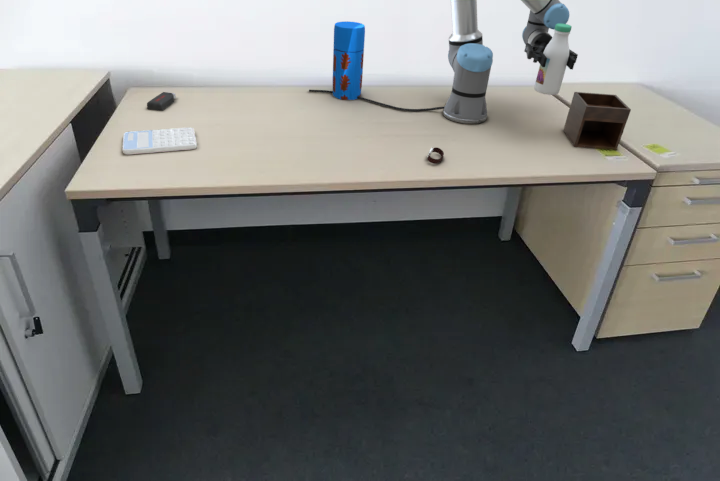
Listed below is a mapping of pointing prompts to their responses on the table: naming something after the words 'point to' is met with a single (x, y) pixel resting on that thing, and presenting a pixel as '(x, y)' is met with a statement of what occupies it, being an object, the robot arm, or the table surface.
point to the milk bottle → (554, 62)
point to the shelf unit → (596, 120)
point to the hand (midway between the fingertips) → (558, 63)
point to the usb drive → (161, 101)
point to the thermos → (348, 59)
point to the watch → (436, 152)
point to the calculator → (159, 140)
